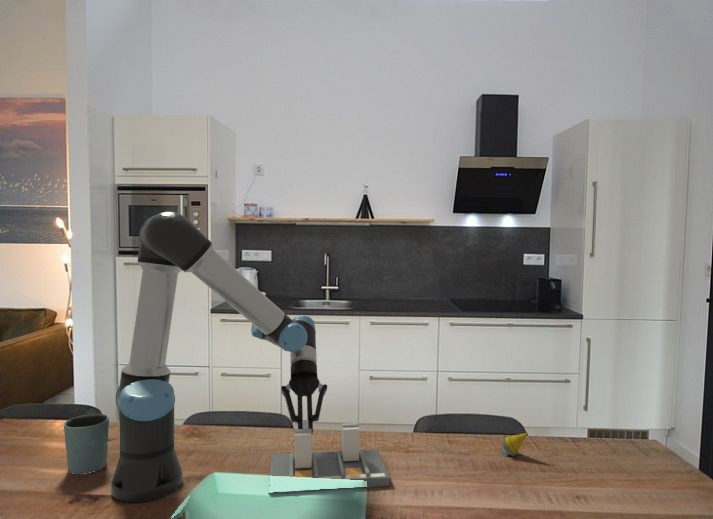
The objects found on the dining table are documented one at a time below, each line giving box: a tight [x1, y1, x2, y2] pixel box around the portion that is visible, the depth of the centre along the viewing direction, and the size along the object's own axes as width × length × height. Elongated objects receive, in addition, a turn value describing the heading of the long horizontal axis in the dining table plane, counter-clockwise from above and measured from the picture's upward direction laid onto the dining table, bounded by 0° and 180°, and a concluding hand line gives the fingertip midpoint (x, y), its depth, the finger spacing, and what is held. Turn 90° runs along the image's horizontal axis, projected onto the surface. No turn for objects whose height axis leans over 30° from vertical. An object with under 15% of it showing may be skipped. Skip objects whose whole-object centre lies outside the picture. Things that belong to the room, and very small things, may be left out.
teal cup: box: [63, 413, 110, 474], centre depth 121 cm, size 10×10×12 cm
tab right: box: [341, 422, 360, 461], centre depth 122 cm, size 4×4×9 cm
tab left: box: [294, 428, 313, 468], centre depth 118 cm, size 4×4×9 cm
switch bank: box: [269, 448, 391, 488], centre depth 118 cm, size 28×16×3 cm, turn 98°
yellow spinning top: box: [500, 432, 529, 457], centre depth 130 cm, size 5×5×10 cm
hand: (305, 446), depth 121 cm, fingers closed
